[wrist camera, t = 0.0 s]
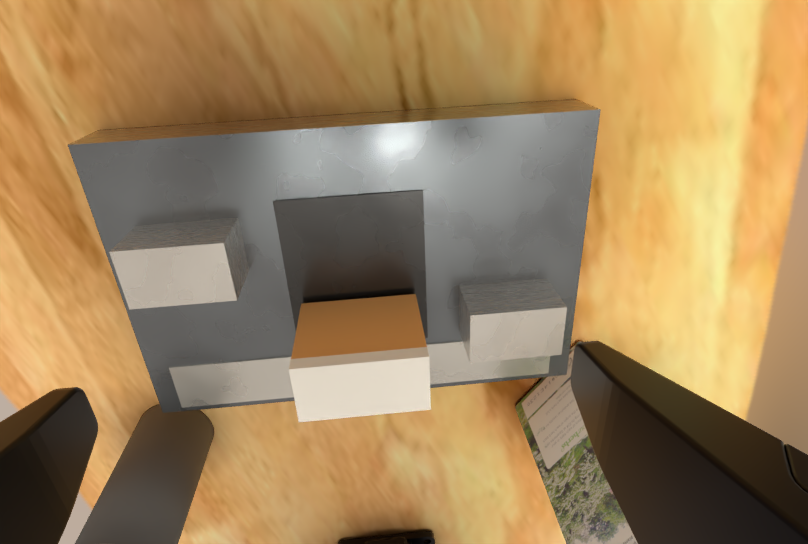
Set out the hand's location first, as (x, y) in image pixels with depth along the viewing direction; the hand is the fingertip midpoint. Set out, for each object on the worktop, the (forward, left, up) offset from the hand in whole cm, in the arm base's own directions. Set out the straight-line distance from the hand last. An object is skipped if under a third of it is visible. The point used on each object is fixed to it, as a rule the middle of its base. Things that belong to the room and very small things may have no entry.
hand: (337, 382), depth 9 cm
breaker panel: (-4, 0, -15) cm, 15 cm away
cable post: (-14, +11, -15) cm, 23 cm away
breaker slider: (-6, 0, -12) cm, 14 cm away
